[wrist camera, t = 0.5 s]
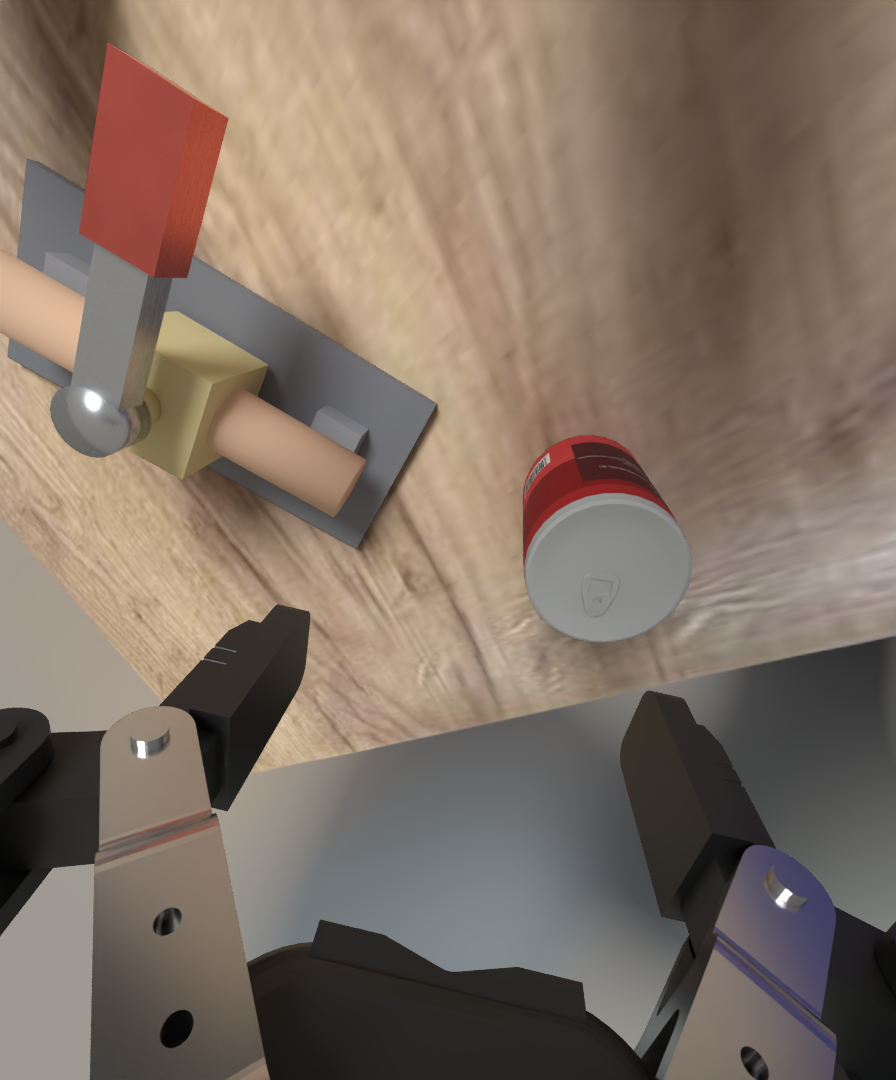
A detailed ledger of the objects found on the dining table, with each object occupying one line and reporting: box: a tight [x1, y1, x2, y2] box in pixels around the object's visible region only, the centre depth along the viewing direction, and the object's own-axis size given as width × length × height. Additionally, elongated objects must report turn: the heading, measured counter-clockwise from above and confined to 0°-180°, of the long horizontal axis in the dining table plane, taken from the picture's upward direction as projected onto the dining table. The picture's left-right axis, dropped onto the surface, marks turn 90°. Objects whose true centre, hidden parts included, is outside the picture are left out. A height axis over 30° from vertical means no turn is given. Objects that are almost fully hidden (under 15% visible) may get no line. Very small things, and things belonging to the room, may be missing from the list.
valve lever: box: [50, 43, 228, 458], centre depth 21 cm, size 15×3×2 cm, turn 151°
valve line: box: [0, 159, 437, 549], centre depth 29 cm, size 12×26×9 cm, turn 60°
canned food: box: [523, 436, 691, 643], centre depth 28 cm, size 8×8×11 cm
